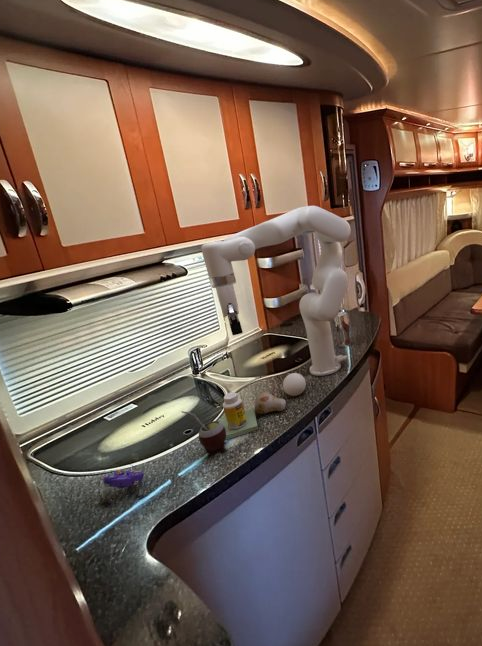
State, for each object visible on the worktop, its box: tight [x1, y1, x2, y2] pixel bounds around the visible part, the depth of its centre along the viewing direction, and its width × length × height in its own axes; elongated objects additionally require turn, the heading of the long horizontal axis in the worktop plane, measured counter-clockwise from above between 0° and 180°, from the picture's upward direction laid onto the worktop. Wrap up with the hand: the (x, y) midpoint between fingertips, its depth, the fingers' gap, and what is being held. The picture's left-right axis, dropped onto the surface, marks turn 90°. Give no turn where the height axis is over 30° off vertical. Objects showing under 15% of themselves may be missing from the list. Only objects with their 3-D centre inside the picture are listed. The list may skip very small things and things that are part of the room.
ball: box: [282, 372, 307, 397], centre depth 132 cm, size 8×8×8 cm
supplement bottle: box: [222, 392, 247, 429], centre depth 115 cm, size 6×6×10 cm
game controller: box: [98, 462, 145, 505], centre depth 95 cm, size 10×8×10 cm
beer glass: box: [333, 311, 352, 348], centre depth 171 cm, size 7×7×15 cm
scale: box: [218, 407, 259, 441], centre depth 118 cm, size 11×13×3 cm
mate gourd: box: [181, 410, 227, 458], centre depth 105 cm, size 8×8×15 cm
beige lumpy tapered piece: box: [254, 391, 287, 415], centre depth 123 cm, size 8×10×10 cm
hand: (236, 330), depth 125 cm, fingers open, 9 cm apart
